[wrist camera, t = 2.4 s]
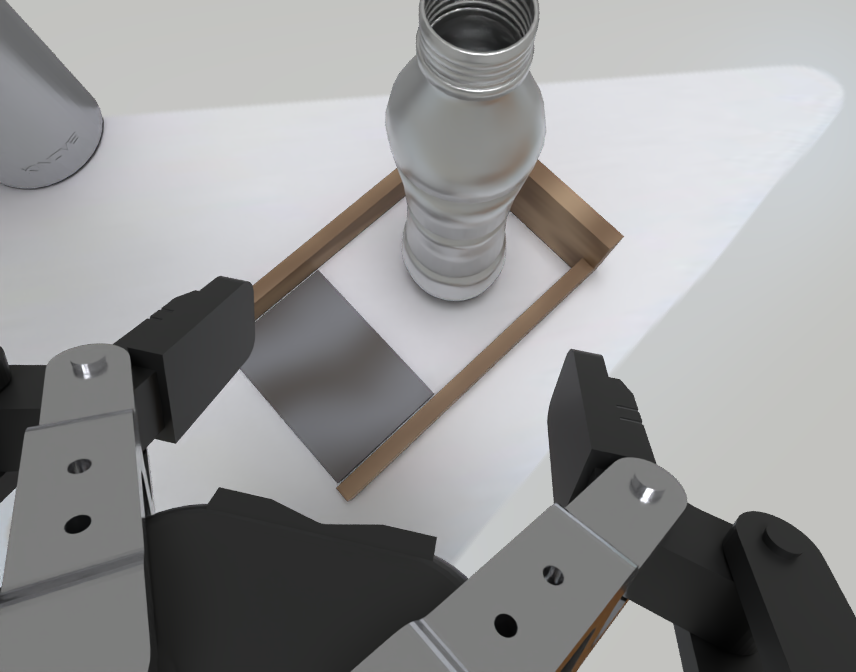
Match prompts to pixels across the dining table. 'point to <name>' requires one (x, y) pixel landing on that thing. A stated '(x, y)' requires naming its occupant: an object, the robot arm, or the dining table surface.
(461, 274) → the plastic bottle
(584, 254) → the wooden tray frame
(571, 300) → the dining table surface
